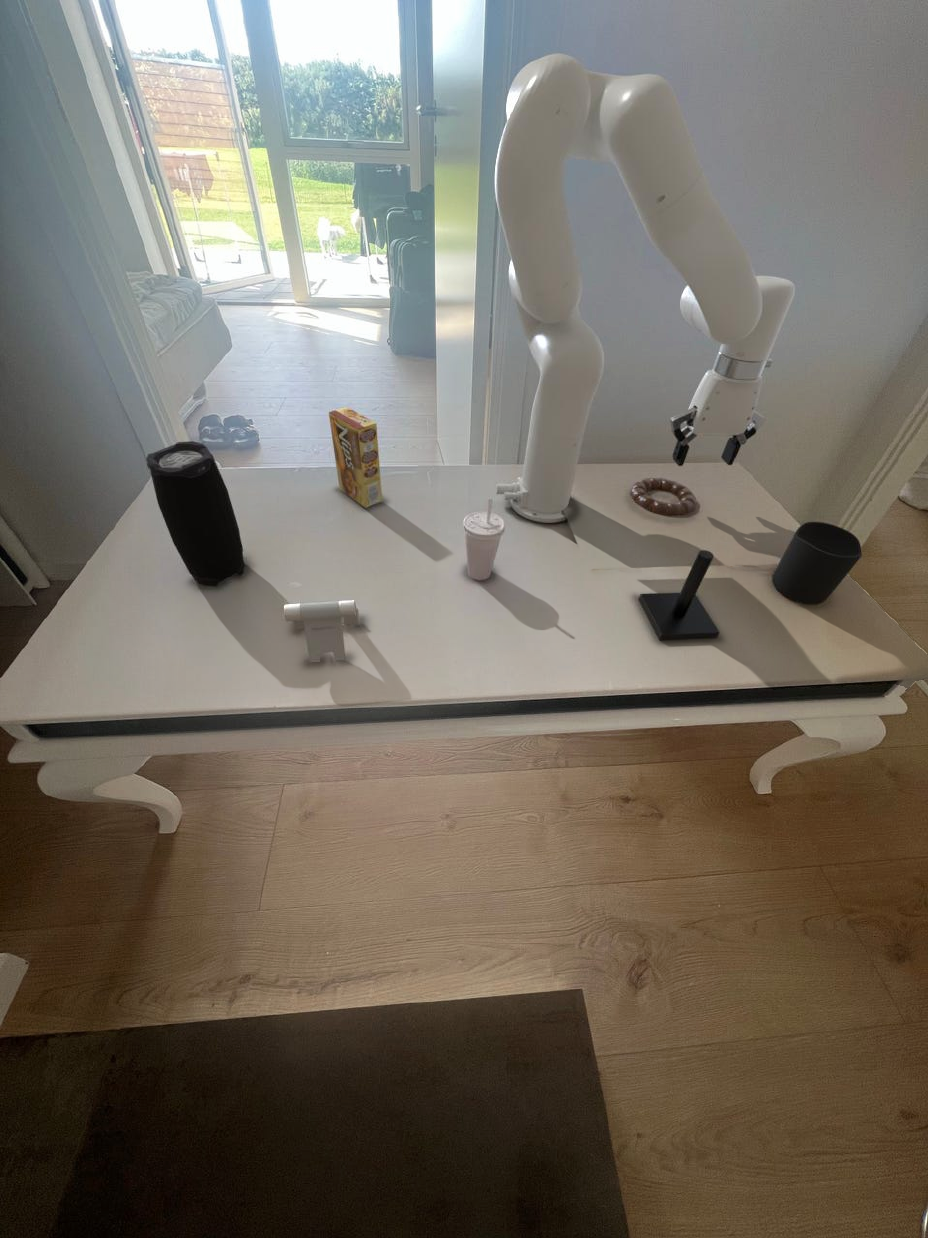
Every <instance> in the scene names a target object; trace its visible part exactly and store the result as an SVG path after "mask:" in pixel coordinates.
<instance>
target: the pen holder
mask: <svg viewBox="0 0 928 1238" xmlns="http://www.w3.org/2000/svg"><path fill="white" fill-rule="evenodd" d="M862 556H863V555H862V545H861V543H860V540H859V539H858V537H857V536H856V535H855V534H853V533H852V532H851V531H848V530H847V529H844V528H843V527H840V526H837V525H836V524H835V525H834V524H831V523H827V522H824V521H807V522H805V523H802V524H801V525H799V527H798V528H797V529H796V530H795V533H794V534H793V536H792V538H791V541H790V542H789V544H788V545H787V547H786V549H785V551H784V553H783V555H782V557H781V559H780V560H779V562H778V564H777V566H776V568H775V570H774V572H773V574H772V576H771V581H772V585H773V587H774V588H775V589H776V590H777V591H778V593H780V594H781V595H782V596H783V597H785V598H787V599H789V600H791V601H794V602H796V603H800V604H803V605H819V604H821V603H824V602H826V600H828V598H829V597H830V596H831V595H832V593H833V592H835V590H836V589H837V588H838V586H839V585H841V583H842V582H843V580H844V579H845V578H846V576H847V575H848V574H849V573H850V572H851V570H852V569H853V568H854V566H856V564H857V563H858V561H859V560H860V558H862Z"/></svg>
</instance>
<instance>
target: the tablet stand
mask: <svg viewBox="0 0 928 1238" xmlns="http://www.w3.org/2000/svg"><path fill="white" fill-rule="evenodd" d="M283 615H284V616H283V617H284V620H285V622H286V623H288V622H289V623H290V622H292V623H293V625H294V627H295V630H302V631H303V630H304V632H305V641H306V647H307V655H308V661H309V662H310V663H320V662H321V654H323V653H332V654H333V657H334V660H335V662H336V661H344V660H345V659H346V649H345V640H344V629H343V627H355V626H360V613H359V608H357V605H356V600H355V599H353V600H351V599H350V600H337V601H323V602H322V601H321V602H307V603H291V604H284V606H283Z"/></svg>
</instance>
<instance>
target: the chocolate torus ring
mask: <svg viewBox="0 0 928 1238" xmlns="http://www.w3.org/2000/svg"><path fill="white" fill-rule="evenodd" d="M651 491H664V492H668V493H670V494H672V495H674V496H676V497H677V499H678V502H664V501H660V500H658V499H655V498H654V497H652V496H650V495H649V494H648V492H651ZM629 495H630V497H631V498H632V500H633V502H634V503H635V504H636V505H638V506H639V507H641V508H643V509H645V510H646V511H648V512H651V513H655V514H657V515H661V516H668V517H678V516H680V517H682V516H686V515H688V514H690V513H692V512H694V511H695V509H696V504H697V498H696V496H695V494H694V493H693V492H692V490H691V489H690V488H689V487H687V486H686V485H683V484H681V483H679V482H678V481H675V480H671V479H667V478H663V477H647V478H644V479H641V480H638V481H636V482H635V483H634V484H633V485H632V487H631V490H630V492H629Z"/></svg>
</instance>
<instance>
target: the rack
mask: <svg viewBox="0 0 928 1238" xmlns="http://www.w3.org/2000/svg"><path fill="white" fill-rule="evenodd" d="M714 557H715V556H714V553H712V552H711V551H710V550H707V549H706V550H705V549H702V550H699V551H698V553H697V555H696V557H695V560H694V562H693V564H692V565H691V569H690V570H689V573H688V575H687V577H686V579H685V581H684V583H683V585H682V588H681V590H680V592H659V593H658V592H656V593H640V594H639V596H638V601H639V603H640V606H641V607H642V610H643V611H644V613H645V616H646V617H647V619H648V621H649V624H650V625H651V627H652V629H653V631H654V633H655V635H656V637H657V639H658V641H675V640H678V641H679V640H703V639H717V638H718V636H719V635H720V630H719V629H718V627H717V626H716V624H715V623H714V621H713V619H712V618H711V616H710V615H709V613H708V612H707V610H706V608H705V607H704V605H703V604H702V602H701V600H700V599H699V597H698V595H696V594H697V592H698V590H699V588H700V586H701V584H702V583H703V581H704V578H705V576H706V574H707V572H708V570H709V567H710V566H711V564H712V562H713V560H714Z"/></svg>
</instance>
